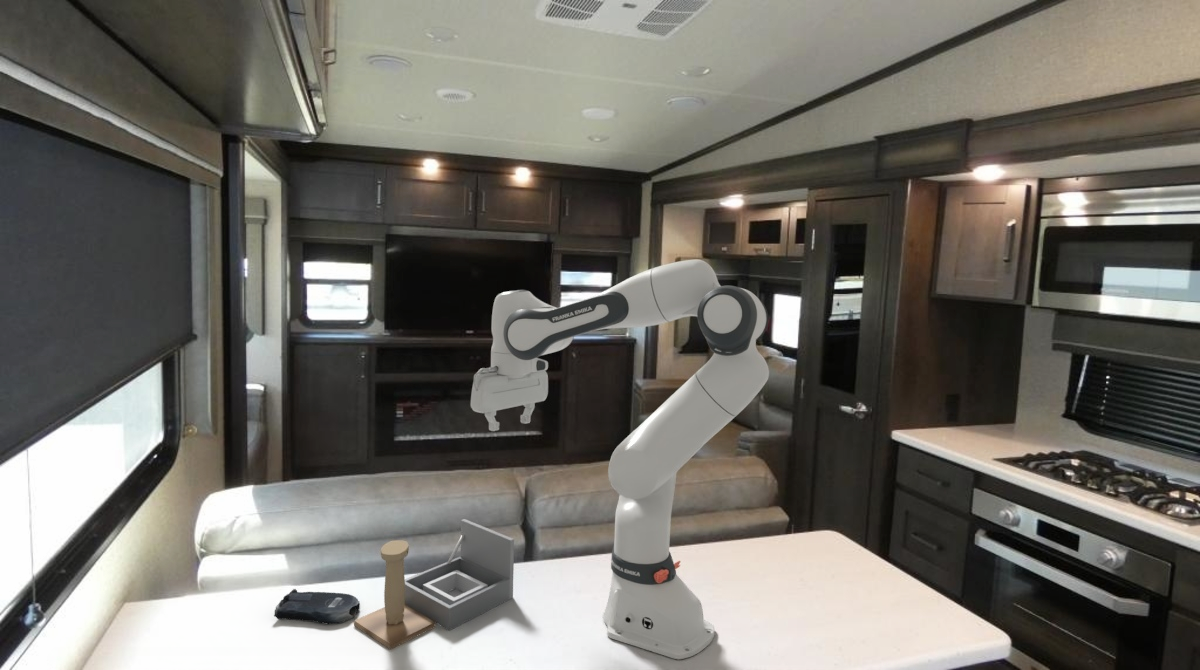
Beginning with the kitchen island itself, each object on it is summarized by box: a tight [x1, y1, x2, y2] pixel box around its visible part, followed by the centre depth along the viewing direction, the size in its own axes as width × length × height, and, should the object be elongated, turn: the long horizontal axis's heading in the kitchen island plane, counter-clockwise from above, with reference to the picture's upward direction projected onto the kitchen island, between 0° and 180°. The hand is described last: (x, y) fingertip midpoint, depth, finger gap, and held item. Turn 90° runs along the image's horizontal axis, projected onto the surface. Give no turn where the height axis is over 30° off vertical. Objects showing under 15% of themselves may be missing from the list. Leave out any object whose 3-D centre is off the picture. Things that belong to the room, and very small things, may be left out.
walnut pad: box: [353, 605, 436, 650], centre depth 128 cm, size 12×10×1 cm
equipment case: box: [405, 518, 515, 631], centre depth 138 cm, size 16×17×13 cm
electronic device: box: [273, 588, 361, 625], centre depth 132 cm, size 9×6×15 cm
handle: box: [380, 539, 410, 625], centre depth 127 cm, size 5×6×15 cm
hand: (510, 426), depth 145 cm, fingers open, 8 cm apart
